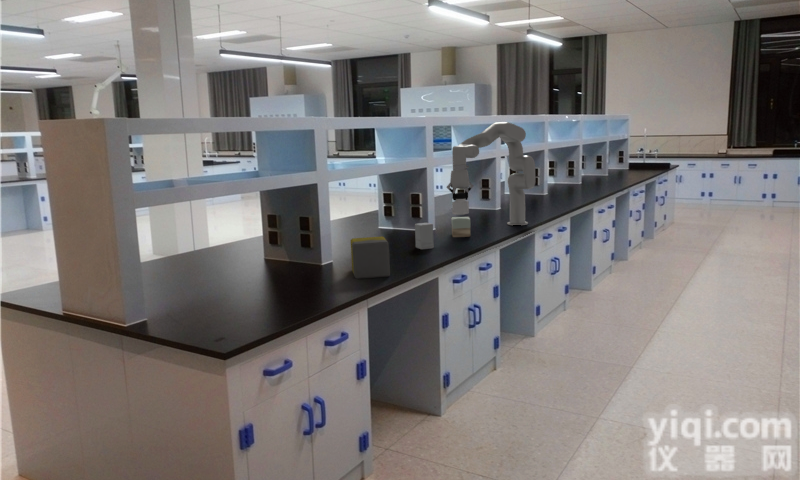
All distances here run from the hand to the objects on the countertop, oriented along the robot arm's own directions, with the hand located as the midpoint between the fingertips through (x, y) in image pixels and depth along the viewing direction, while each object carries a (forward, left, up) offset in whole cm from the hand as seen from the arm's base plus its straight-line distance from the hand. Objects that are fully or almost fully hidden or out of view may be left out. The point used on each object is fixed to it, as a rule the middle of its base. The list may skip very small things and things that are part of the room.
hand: (460, 199), depth 346 cm
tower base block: (0, 0, -21) cm, 21 cm away
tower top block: (0, 0, -16) cm, 16 cm away
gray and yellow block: (+85, -43, -21) cm, 98 cm away
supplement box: (+34, -20, -21) cm, 45 cm away
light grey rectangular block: (0, 0, -8) cm, 8 cm away
